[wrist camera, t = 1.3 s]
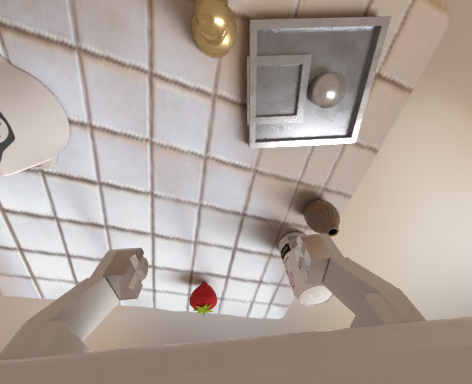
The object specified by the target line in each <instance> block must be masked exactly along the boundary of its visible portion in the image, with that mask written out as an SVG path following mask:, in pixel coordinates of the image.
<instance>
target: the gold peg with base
mask: <svg viewBox="0 0 472 384" xmlns="http://www.w3.org/2000/svg"><path fill="white" fill-rule="evenodd" d="M191 26H192V34H193V37H194V40H195V42H196V44H197V45H198V47H199V48H200V50H201V51H202V52H203V53H204V54H206V55H207V56H209V57H212V58H220V57H223V56H225V55H226V54H227V53H228V52H229V51H230V50H231V48H232V46H233V43H234V40H235V36H236V22H235V18H234V15H233V13H232V11H231V9H230V8H229V7H228V4H227V1H226V0H196V1H195V6H194V13H193V17H192V24H191Z"/></svg>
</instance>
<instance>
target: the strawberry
mask: <svg viewBox="0 0 472 384" xmlns="http://www.w3.org/2000/svg"><path fill="white" fill-rule="evenodd" d="M216 303H217V297H216V294H215V292H214V290H213V289H212V288H211V287H210V286H209V285H208V283H206V282H204V283H202V284H201V285H200V286H198V287H197V288H196V289H195V290H194V291H193V293H192V295H191V297H190V305H191V306H192V307H193V308H194V309H195V310H193V311H198V312H197V313H201V312H202V314H205V312H207V313H208V312H213V311H211V310H210V309H212V308H213V307H215V306H216Z"/></svg>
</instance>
